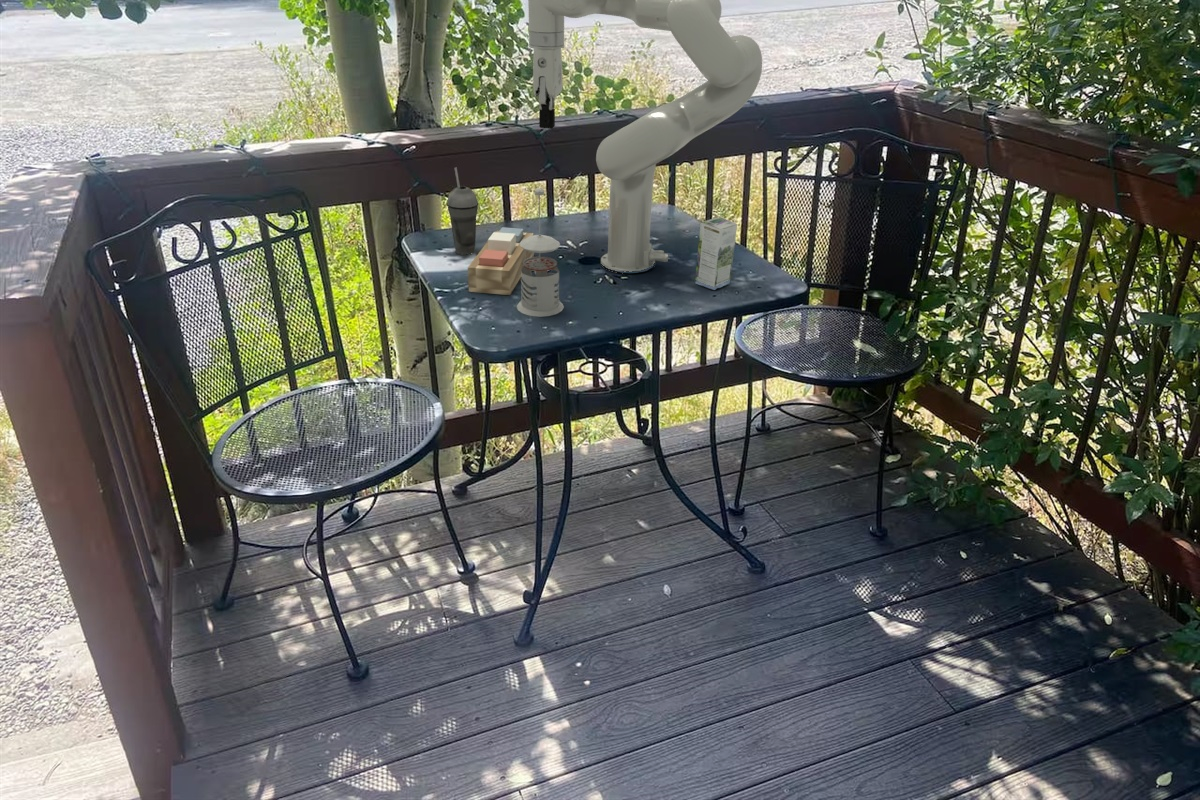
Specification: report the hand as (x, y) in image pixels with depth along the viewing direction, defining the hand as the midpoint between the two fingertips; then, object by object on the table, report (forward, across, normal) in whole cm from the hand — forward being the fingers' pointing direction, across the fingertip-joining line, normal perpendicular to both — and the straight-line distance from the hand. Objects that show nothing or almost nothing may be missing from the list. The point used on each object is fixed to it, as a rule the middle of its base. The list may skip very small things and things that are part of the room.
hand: (547, 127), depth 198 cm
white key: (+25, -16, +7) cm, 30 cm away
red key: (+26, -23, +7) cm, 36 cm away
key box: (+29, -16, +7) cm, 34 cm away
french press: (+29, -32, -4) cm, 43 cm away
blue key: (+26, -8, +7) cm, 28 cm away
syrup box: (+29, -13, -40) cm, 51 cm away
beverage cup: (+29, -5, +19) cm, 35 cm away
